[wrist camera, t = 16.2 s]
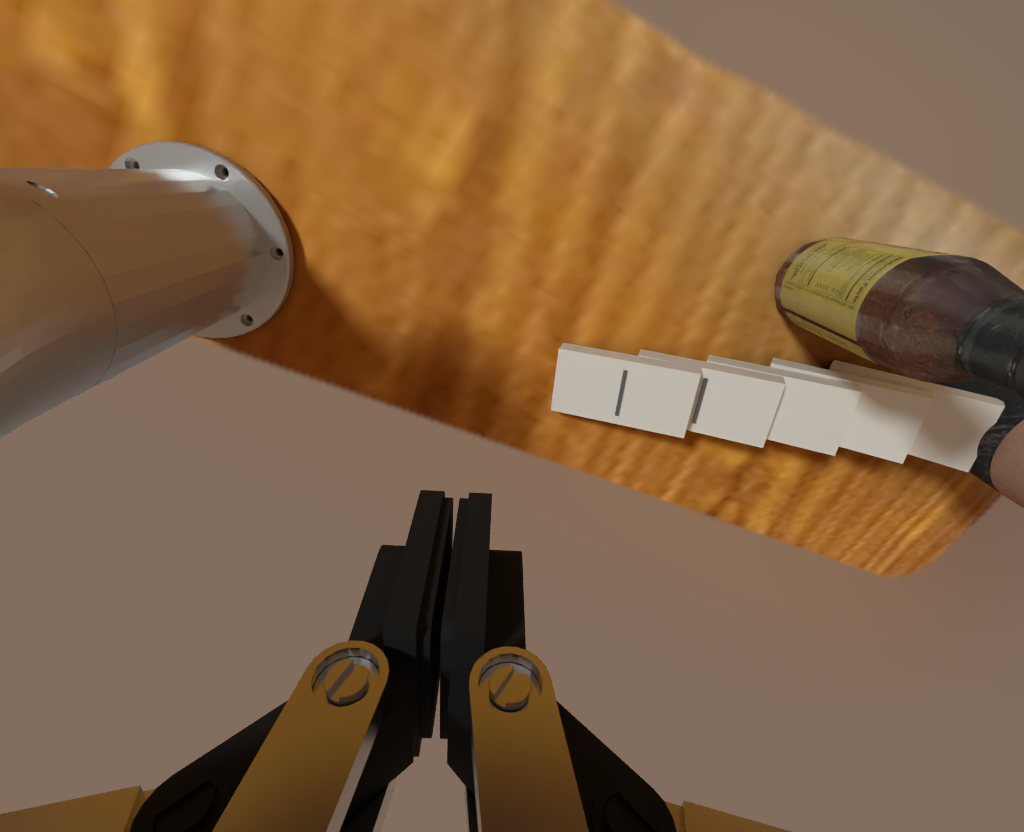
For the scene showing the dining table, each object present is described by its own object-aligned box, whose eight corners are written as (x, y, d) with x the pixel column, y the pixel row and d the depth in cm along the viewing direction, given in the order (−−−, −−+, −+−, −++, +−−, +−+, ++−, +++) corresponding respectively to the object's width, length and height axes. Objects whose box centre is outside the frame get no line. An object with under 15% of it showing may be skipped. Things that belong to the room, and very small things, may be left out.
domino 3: (691, 420, 39) (834, 456, 36) (707, 360, 37) (861, 392, 34) (693, 413, 41) (832, 446, 37) (709, 354, 38) (857, 384, 35)
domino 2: (625, 416, 39) (762, 448, 36) (637, 355, 37) (785, 384, 34) (628, 408, 40) (761, 438, 38) (641, 349, 38) (783, 376, 35)
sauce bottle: (866, 295, 37) (1208, 414, 19) (782, 337, 38) (1027, 485, 20) (844, 212, 34) (1214, 258, 16) (755, 260, 35) (1007, 351, 18)
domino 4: (751, 422, 40) (902, 464, 35) (771, 363, 37) (934, 399, 33) (754, 415, 41) (900, 454, 37) (773, 357, 39) (930, 392, 34)
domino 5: (808, 424, 40) (968, 473, 34) (830, 364, 38) (1005, 406, 32) (812, 417, 41) (967, 464, 36) (834, 359, 39) (1003, 399, 33)
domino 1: (550, 410, 39) (683, 438, 36) (558, 348, 37) (701, 374, 34) (555, 402, 40) (684, 429, 38) (563, 342, 38) (700, 367, 36)
